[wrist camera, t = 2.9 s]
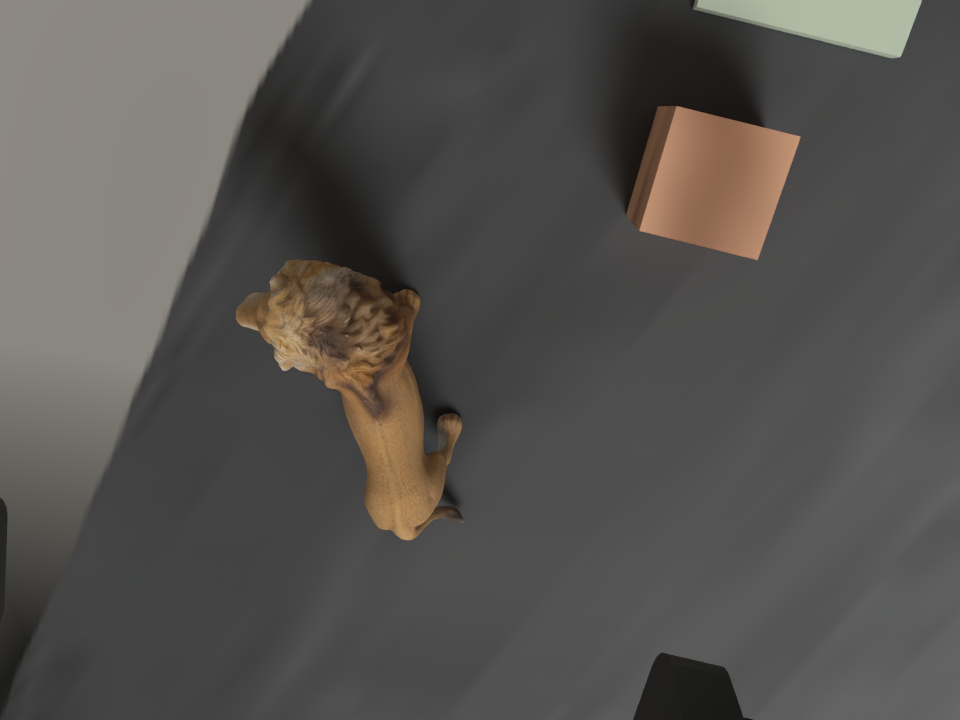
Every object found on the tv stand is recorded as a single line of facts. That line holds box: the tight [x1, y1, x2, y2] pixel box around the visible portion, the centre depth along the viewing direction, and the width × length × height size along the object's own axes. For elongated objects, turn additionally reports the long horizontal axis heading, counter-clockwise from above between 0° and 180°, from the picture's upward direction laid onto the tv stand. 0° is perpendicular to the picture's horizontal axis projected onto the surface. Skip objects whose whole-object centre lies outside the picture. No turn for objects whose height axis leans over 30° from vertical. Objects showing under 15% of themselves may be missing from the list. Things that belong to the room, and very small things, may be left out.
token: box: [626, 106, 800, 260], centre depth 31 cm, size 4×4×4 cm
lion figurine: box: [236, 259, 465, 540], centre depth 32 cm, size 15×5×9 cm, turn 24°
